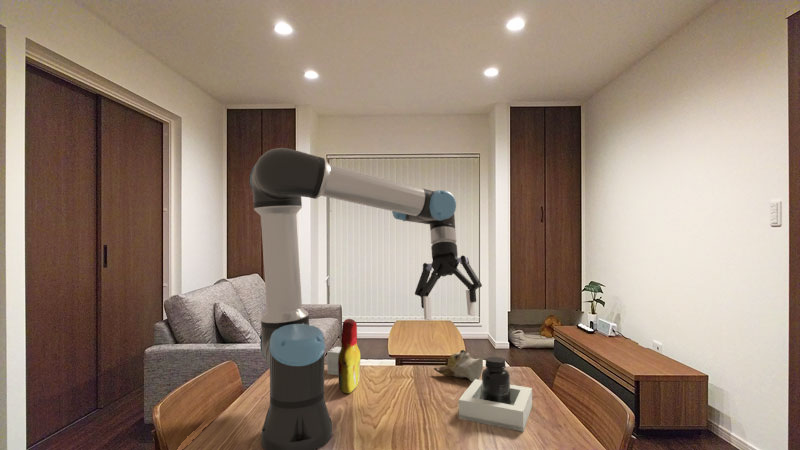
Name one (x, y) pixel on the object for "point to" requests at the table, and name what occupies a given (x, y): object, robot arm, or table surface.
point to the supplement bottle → (496, 381)
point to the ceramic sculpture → (462, 366)
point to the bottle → (349, 357)
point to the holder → (496, 407)
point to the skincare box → (333, 360)
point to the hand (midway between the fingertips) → (448, 317)
